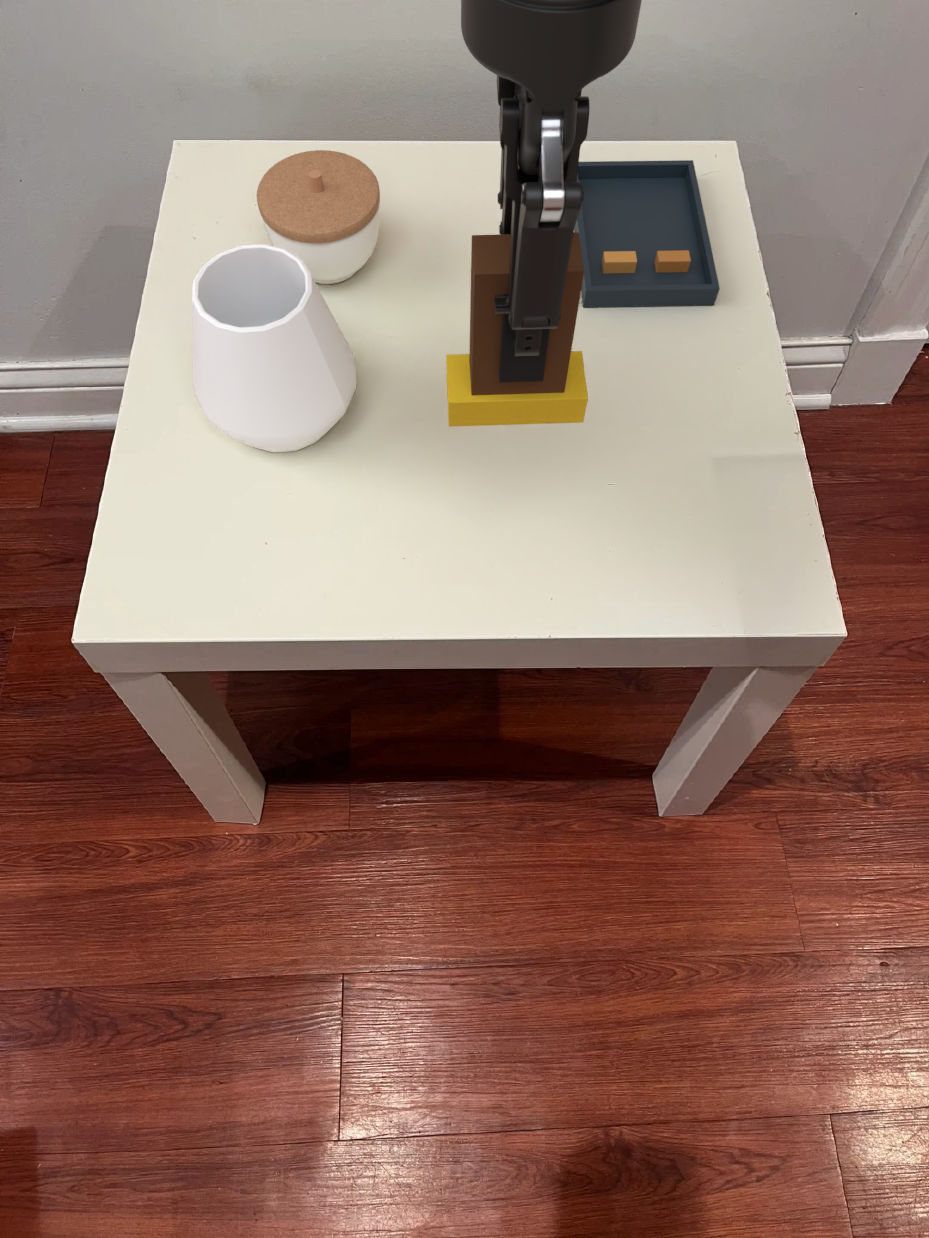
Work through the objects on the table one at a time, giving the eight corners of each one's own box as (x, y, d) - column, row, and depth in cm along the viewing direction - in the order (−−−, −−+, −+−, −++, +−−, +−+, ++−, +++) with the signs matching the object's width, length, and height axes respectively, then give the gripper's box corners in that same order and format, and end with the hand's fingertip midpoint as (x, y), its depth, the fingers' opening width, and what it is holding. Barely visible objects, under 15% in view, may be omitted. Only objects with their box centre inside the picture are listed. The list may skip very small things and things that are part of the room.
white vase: (263, 329, 82) (228, 197, 69) (390, 385, 79) (378, 259, 66) (174, 434, 76) (119, 312, 64) (307, 497, 74) (277, 384, 61)
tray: (713, 305, 83) (719, 288, 81) (583, 308, 83) (585, 290, 81) (688, 178, 91) (693, 160, 89) (567, 180, 91) (570, 161, 89)
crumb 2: (687, 272, 84) (691, 261, 83) (655, 273, 84) (658, 261, 83) (685, 262, 85) (689, 250, 84) (654, 262, 85) (657, 250, 84)
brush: (577, 376, 62) (604, 225, 50) (583, 423, 60) (612, 277, 49) (446, 380, 61) (444, 229, 50) (448, 427, 60) (447, 281, 48)
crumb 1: (634, 273, 84) (637, 261, 83) (602, 274, 84) (605, 262, 83) (632, 262, 85) (635, 250, 84) (601, 263, 85) (603, 251, 84)
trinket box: (252, 283, 84) (229, 197, 76) (303, 209, 88) (287, 120, 80) (356, 316, 82) (345, 232, 74) (403, 239, 87) (397, 151, 78)
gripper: (453, -166, 39) (454, 263, 60) (471, 69, 32) (465, 461, 53) (625, -168, 39) (565, 260, 60) (680, 65, 32) (591, 457, 53)
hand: (518, 353), depth 57 cm, fingers closed on brush, 3 cm apart
